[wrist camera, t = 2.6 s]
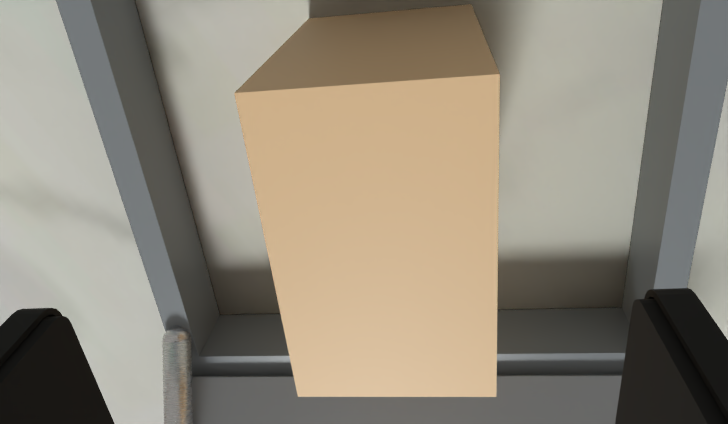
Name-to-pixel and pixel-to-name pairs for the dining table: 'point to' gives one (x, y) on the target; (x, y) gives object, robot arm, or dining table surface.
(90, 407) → the robot arm
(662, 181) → the equipment case
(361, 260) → the block
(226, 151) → the dining table surface
